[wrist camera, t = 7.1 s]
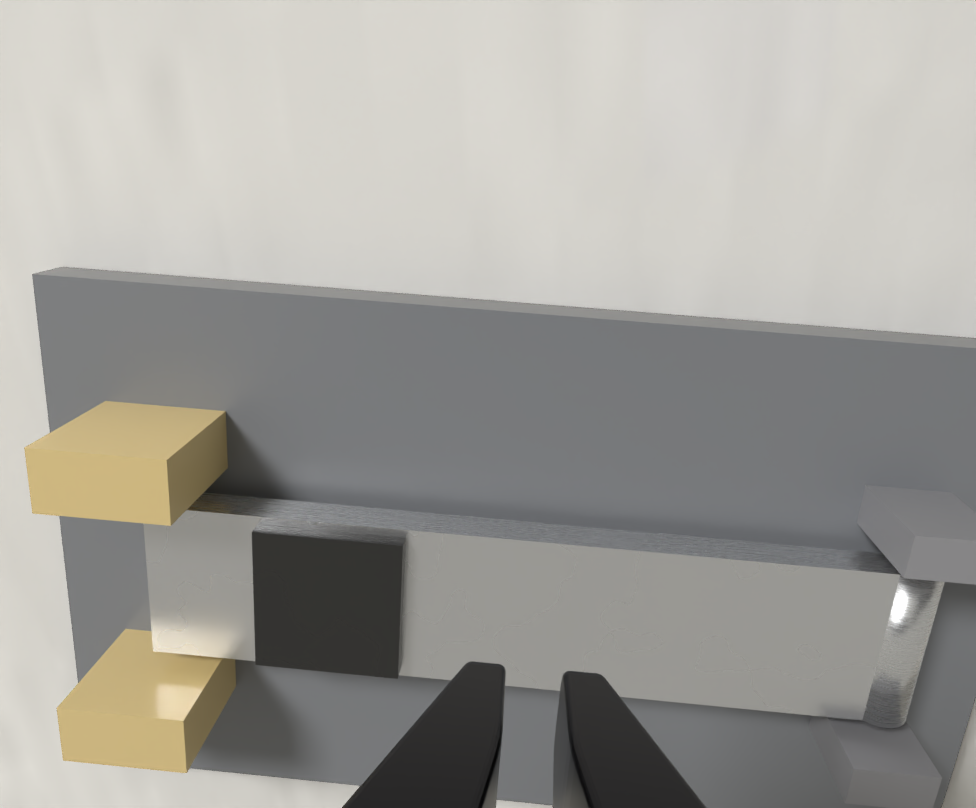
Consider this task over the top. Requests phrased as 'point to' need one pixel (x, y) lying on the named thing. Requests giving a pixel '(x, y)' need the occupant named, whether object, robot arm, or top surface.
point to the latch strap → (540, 605)
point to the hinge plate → (493, 502)
